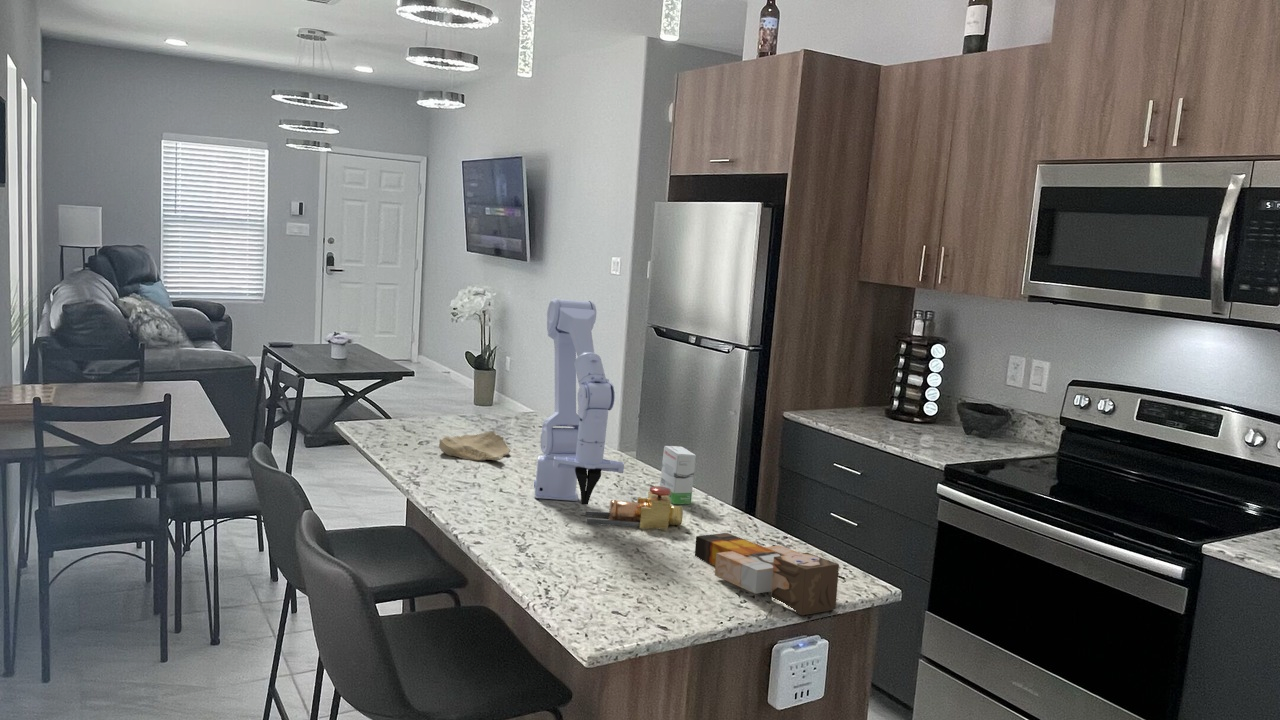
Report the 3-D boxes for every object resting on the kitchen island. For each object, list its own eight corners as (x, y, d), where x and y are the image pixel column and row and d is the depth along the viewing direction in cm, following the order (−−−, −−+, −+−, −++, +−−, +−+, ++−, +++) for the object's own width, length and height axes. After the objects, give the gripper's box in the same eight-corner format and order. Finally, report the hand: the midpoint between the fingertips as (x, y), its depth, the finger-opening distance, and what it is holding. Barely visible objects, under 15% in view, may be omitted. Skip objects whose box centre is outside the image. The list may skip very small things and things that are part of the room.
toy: (742, 521, 186) (854, 562, 161) (739, 560, 186) (850, 606, 161) (680, 527, 177) (788, 571, 152) (678, 568, 178) (785, 618, 153)
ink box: (691, 504, 214) (697, 454, 213) (672, 504, 212) (678, 454, 211) (676, 493, 222) (682, 445, 221) (657, 493, 220) (663, 445, 219)
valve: (639, 528, 193) (643, 493, 192) (635, 517, 200) (639, 482, 199) (682, 531, 194) (686, 496, 193) (676, 520, 201) (680, 485, 200)
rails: (586, 523, 192) (586, 518, 192) (584, 515, 198) (585, 510, 197) (639, 527, 194) (639, 522, 193) (636, 518, 199) (636, 514, 199)
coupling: (610, 522, 193) (612, 501, 193) (608, 518, 198) (610, 498, 198) (648, 525, 194) (650, 504, 194) (645, 521, 199) (647, 500, 199)
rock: (522, 454, 244) (524, 438, 244) (498, 471, 230) (500, 453, 229) (461, 441, 249) (463, 425, 248) (434, 456, 234) (435, 439, 233)
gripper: (556, 441, 188) (550, 506, 190) (628, 447, 190) (620, 511, 192) (555, 433, 195) (549, 496, 197) (624, 439, 197) (617, 501, 198)
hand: (584, 503), depth 195 cm, fingers closed
